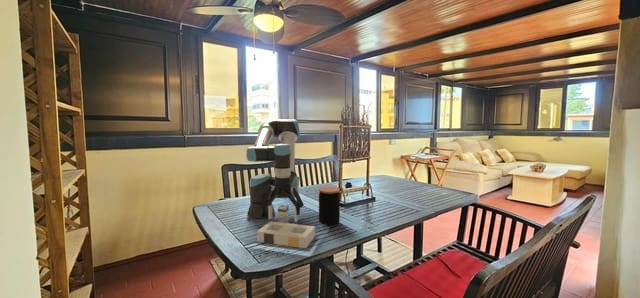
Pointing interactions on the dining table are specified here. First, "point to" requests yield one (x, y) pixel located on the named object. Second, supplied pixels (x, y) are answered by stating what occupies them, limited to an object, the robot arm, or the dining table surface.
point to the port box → (286, 234)
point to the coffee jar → (329, 205)
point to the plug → (283, 214)
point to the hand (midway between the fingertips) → (283, 219)
